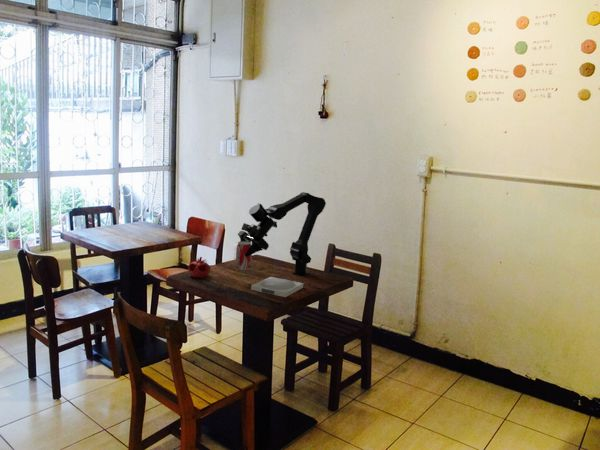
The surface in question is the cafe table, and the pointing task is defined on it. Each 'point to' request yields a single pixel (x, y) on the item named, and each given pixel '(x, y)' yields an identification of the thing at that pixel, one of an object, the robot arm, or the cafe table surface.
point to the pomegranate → (199, 268)
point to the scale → (277, 286)
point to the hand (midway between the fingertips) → (241, 254)
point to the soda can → (243, 255)
